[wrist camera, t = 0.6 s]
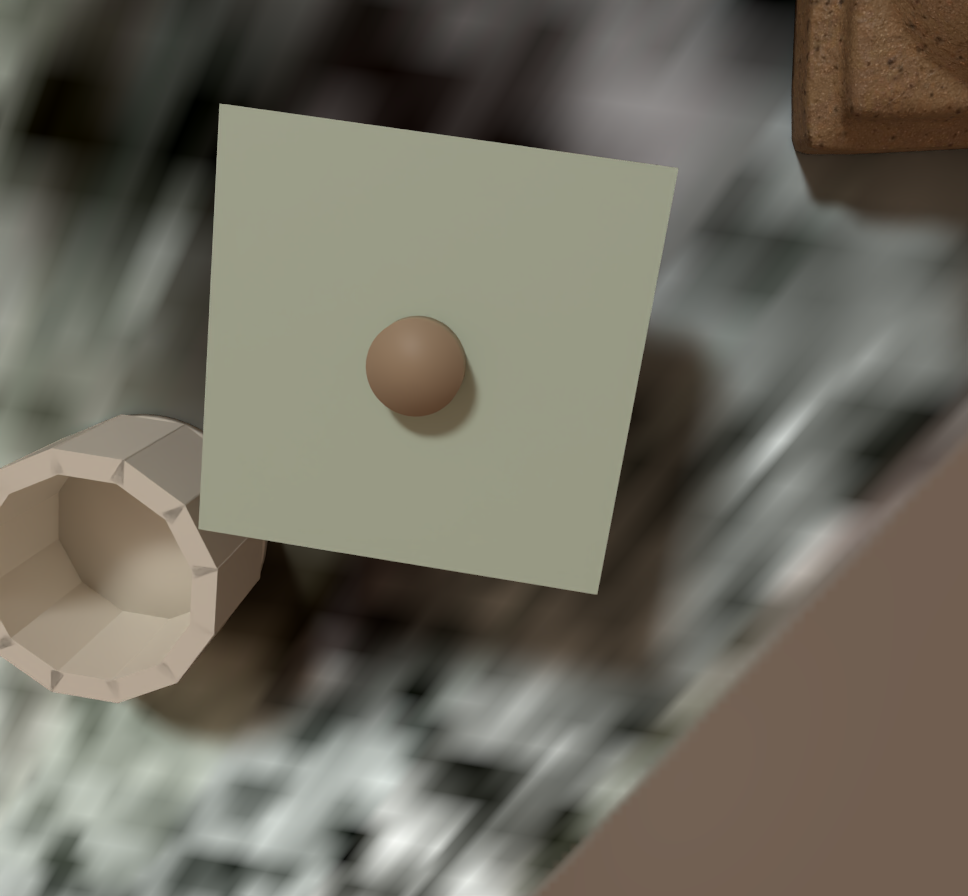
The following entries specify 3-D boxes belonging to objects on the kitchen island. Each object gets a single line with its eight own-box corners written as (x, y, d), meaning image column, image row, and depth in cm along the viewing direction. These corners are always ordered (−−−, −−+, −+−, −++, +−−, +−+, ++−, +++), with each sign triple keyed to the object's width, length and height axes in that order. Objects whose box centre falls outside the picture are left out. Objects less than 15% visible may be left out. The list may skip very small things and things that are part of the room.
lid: (248, 111, 23) (206, 100, 20) (668, 171, 23) (682, 166, 20) (225, 504, 26) (186, 540, 23) (594, 565, 26) (598, 608, 23)
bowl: (46, 396, 32) (-47, 432, 27) (275, 433, 31) (223, 475, 26) (46, 608, 34) (-39, 675, 29) (260, 645, 34) (209, 719, 29)
